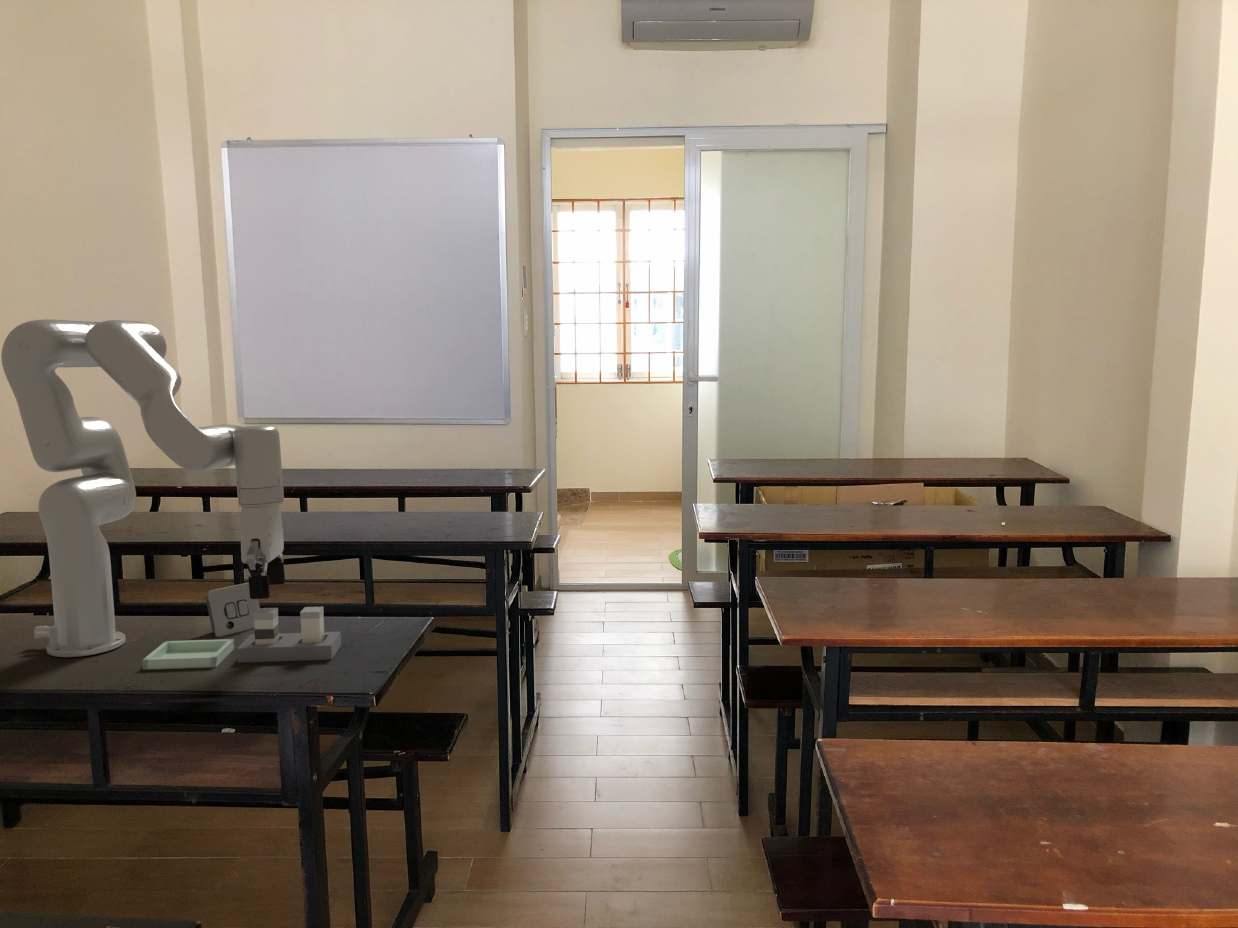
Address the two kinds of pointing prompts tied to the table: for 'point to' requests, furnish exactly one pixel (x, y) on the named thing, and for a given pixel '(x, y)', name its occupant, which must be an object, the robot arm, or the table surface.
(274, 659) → the block
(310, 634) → the block
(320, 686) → the table surface
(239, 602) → the electrical switch
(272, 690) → the table surface
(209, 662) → the parts tray
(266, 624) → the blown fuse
